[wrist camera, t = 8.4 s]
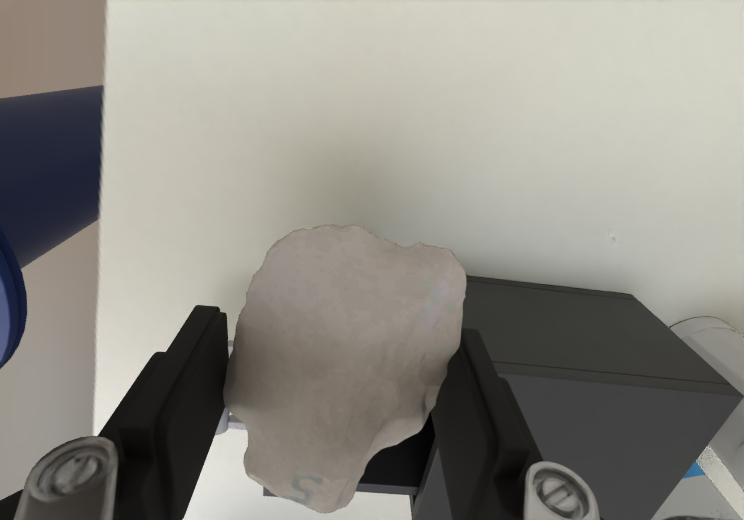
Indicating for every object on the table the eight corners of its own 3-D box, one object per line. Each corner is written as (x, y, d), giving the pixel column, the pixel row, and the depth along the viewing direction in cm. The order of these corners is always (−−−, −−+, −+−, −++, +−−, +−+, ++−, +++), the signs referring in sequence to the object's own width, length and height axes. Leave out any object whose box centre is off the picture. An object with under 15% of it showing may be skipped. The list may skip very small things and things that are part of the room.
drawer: (229, 393, 31) (191, 491, 24) (226, 262, 26) (176, 339, 19) (454, 412, 33) (479, 510, 26) (493, 292, 27) (538, 373, 20)
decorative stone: (370, 457, 14) (372, 551, 12) (207, 416, 13) (169, 509, 10) (496, 254, 11) (542, 321, 8) (289, 173, 10) (263, 219, 7)
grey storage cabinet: (399, 404, 33) (412, 526, 25) (431, 271, 28) (462, 369, 19) (568, 419, 34) (636, 540, 26) (631, 294, 29) (745, 396, 20)
